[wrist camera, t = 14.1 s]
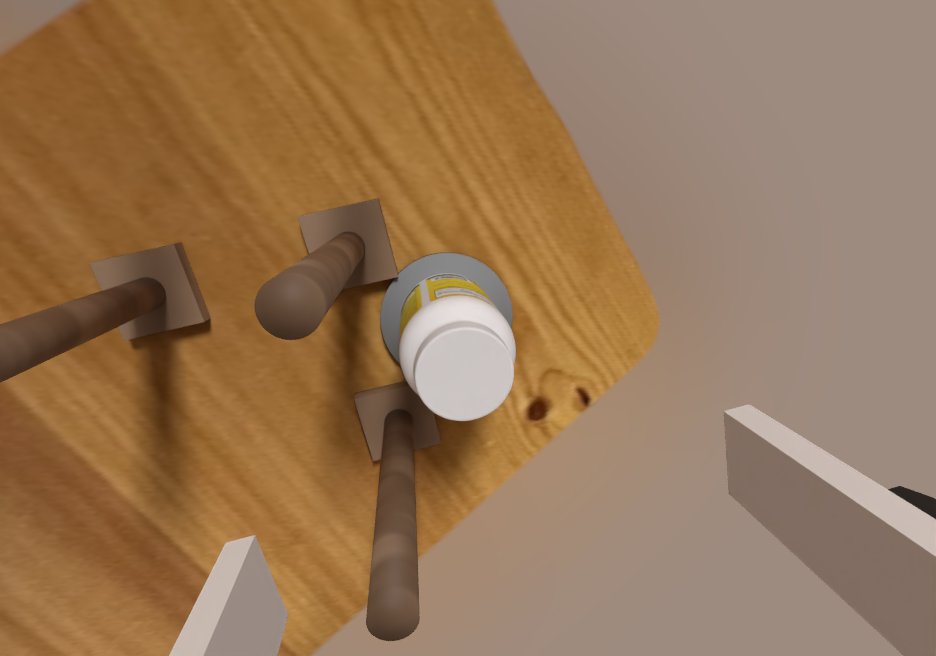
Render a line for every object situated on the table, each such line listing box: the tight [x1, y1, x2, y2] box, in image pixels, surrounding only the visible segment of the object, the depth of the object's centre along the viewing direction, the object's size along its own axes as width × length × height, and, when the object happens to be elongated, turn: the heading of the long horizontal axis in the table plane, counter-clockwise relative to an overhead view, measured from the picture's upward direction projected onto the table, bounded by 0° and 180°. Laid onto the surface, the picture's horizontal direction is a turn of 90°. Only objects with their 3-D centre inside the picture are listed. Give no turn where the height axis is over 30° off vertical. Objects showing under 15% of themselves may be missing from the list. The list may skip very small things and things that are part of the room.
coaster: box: [380, 253, 513, 364], centre depth 33 cm, size 9×9×1 cm
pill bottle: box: [399, 273, 516, 421], centre depth 28 cm, size 6×6×11 cm
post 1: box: [0, 243, 210, 382], centre depth 22 cm, size 5×5×18 cm
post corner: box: [255, 199, 398, 340], centre depth 23 cm, size 5×5×18 cm
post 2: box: [354, 381, 441, 641], centre depth 27 cm, size 5×5×18 cm
